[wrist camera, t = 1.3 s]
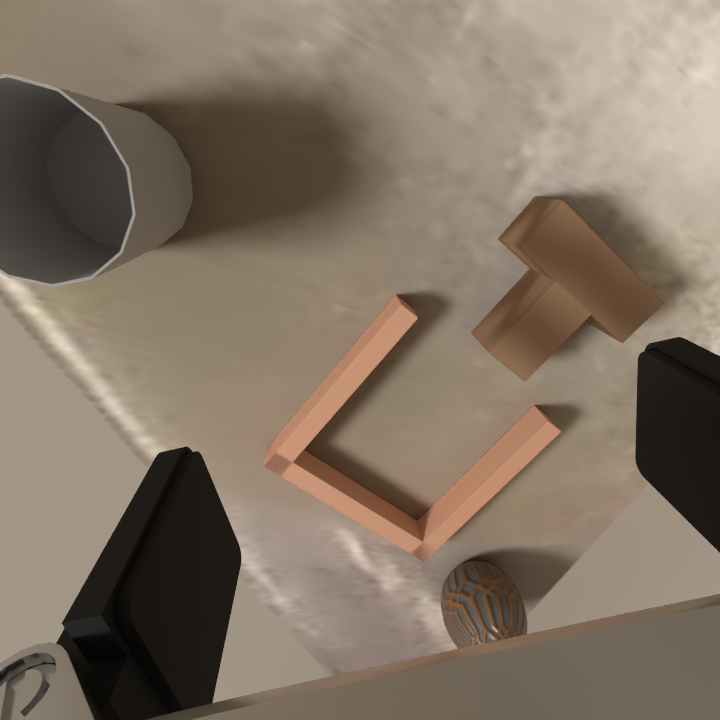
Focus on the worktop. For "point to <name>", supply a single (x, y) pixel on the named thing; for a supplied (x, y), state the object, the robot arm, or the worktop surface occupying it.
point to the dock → (365, 505)
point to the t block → (560, 289)
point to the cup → (82, 184)
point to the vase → (481, 605)
